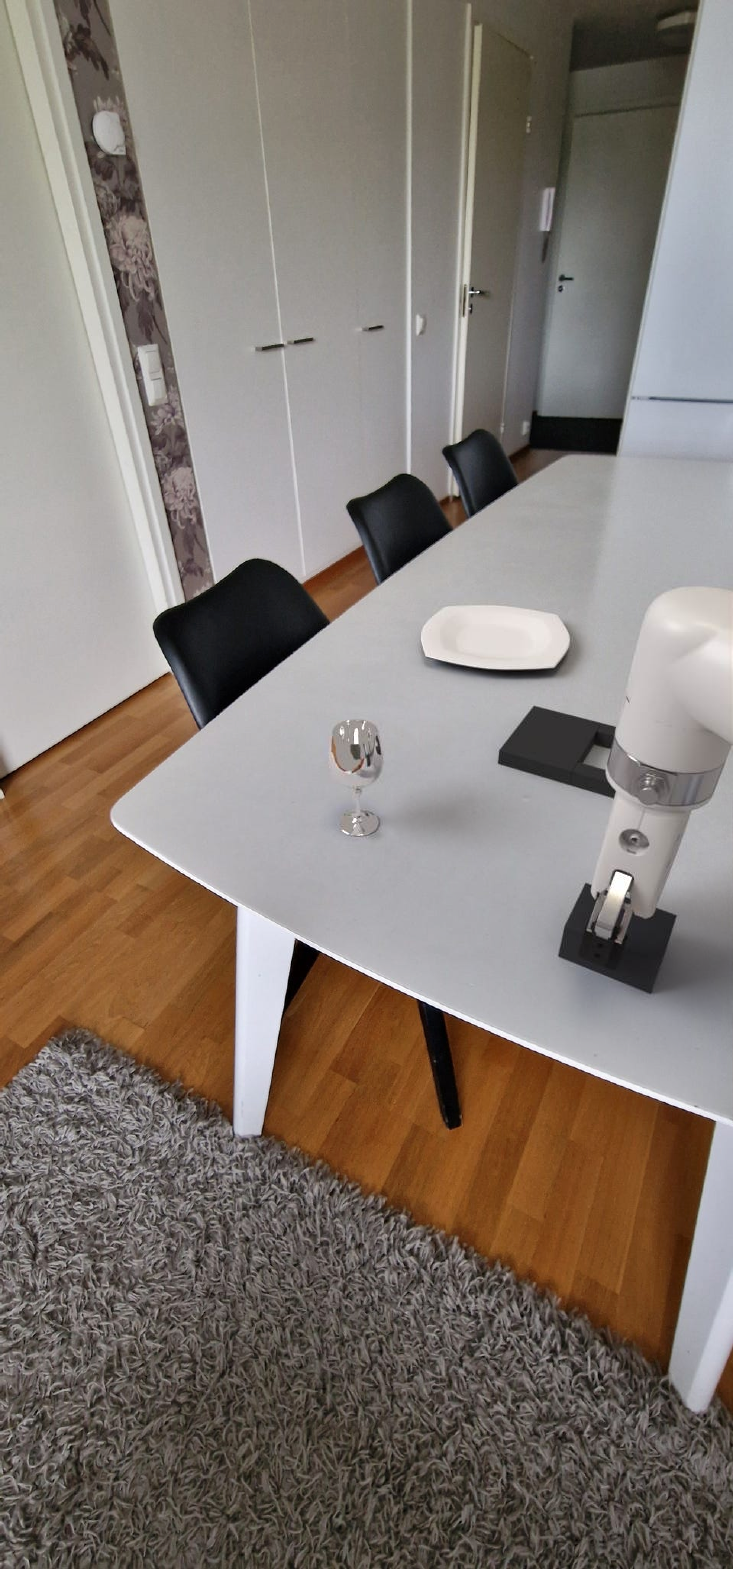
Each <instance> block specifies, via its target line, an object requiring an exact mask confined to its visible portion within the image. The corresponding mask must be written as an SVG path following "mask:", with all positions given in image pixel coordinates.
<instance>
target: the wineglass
mask: <svg viewBox="0 0 733 1569" xmlns="http://www.w3.org/2000/svg"><path fill="white" fill-rule="evenodd" d="M327 763H328V767H329V772H330V774H331V776H332V777H333V779H334V780H335V781H336V782H337V783H338V784H340V785H342V786H343V787H345V788H349V789H350V788H351V789H352V795H353V797H354V801H355V809H353V810H349V811H347V812H345V813H343V814H342V815H341V816H340V818H339V820H338V823H337V824H338V828H339V829H340V831H341V832H343V833H344V834H346V835H348V836H351V837H364V836H368V835H371V834H372V833H374V832H375V831H376V830H377V829H378V827H379V825H380V824H379V823H380V821H379V818H378V817H377V815H376V814H375V813H374V812H371V811H369V810H366V809H361V796H362V792H363V788H366V787H369V786H371V785H373V784H374V783H376V782H377V781H378V779H379V778H380V776H381V775H382V773H383V769H384V764H385V754H384V746H383V742H382V739H381V735H380V731H379V729H378V726H377V725H376V724H374V723H373V722H371V721H368V720H365V719H356V718H355V719H346V720H344V721H341V722H339V723H337V724H335V725H334V727H333V728H332V731H331V734H330V739H329V743H328V750H327Z"/></svg>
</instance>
